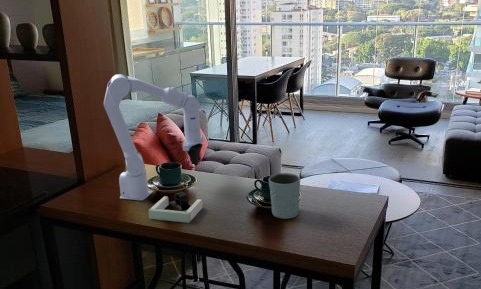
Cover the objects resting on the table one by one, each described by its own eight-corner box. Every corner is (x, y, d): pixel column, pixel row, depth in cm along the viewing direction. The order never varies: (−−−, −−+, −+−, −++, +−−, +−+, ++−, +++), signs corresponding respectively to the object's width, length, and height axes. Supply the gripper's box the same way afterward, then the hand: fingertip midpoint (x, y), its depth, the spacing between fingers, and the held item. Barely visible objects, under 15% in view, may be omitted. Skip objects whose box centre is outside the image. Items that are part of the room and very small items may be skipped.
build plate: (164, 203, 164) (163, 191, 163) (182, 198, 168) (181, 186, 167) (182, 215, 155) (181, 202, 153) (201, 208, 159) (200, 196, 157)
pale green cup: (281, 222, 145) (281, 186, 142) (263, 211, 153) (262, 177, 150) (307, 213, 150) (307, 179, 147) (287, 203, 158) (287, 170, 155)
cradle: (149, 218, 152) (148, 210, 151) (164, 204, 162) (164, 196, 161) (189, 222, 148) (188, 214, 147) (202, 207, 158) (201, 199, 157)
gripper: (194, 134, 162) (197, 170, 166) (209, 123, 175) (211, 158, 179) (176, 133, 164) (179, 169, 168) (192, 123, 177) (194, 157, 181)
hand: (194, 163), depth 174 cm, fingers closed
